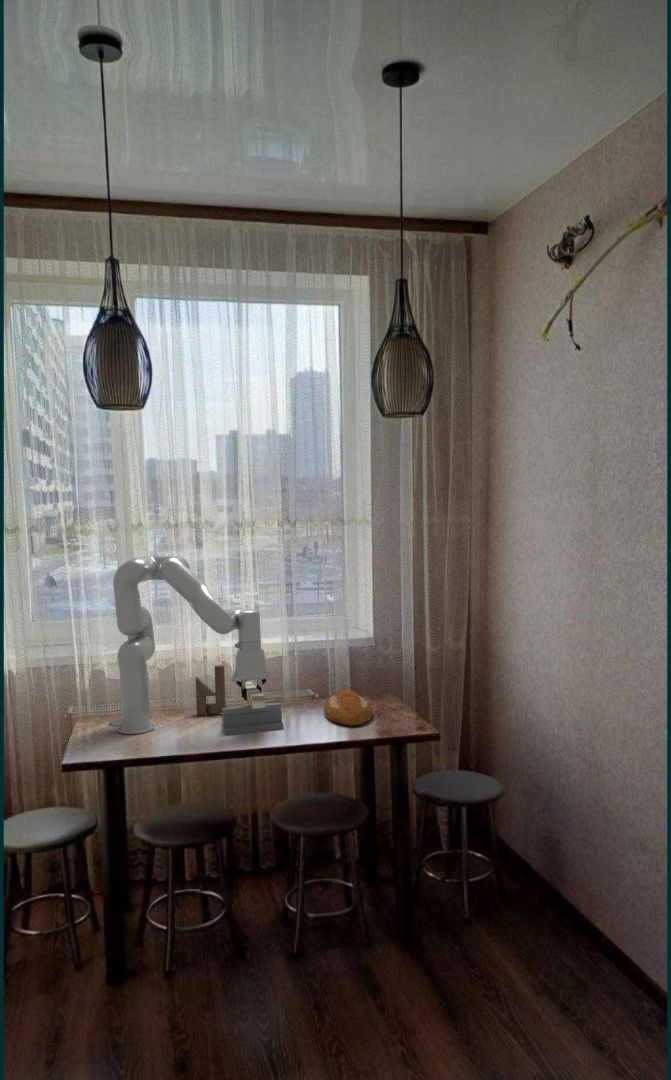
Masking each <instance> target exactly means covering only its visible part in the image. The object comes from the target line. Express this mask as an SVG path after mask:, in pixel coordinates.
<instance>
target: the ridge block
mask: <svg viewBox="0 0 671 1080" xmlns="http://www.w3.org/2000/svg"><path fill="white" fill-rule="evenodd" d="M282 715H283V712H282V704H281V703H280V702H275V703H274V702H273V703H265V708H256V709H253V708H252V707H251V706H250V705H241V706H232V707H226V708H222V714H221V718H222V719H221V721H222V722H221V731H222V732H223V734H224V735H225V736H231V735H232V736H233V735H239V734H240V735H241V734H249V733H251V734H252V733H260V732H269V731H270V732H271V731H277V730H278V731H279V730H284V722H283V716H282Z"/></svg>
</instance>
